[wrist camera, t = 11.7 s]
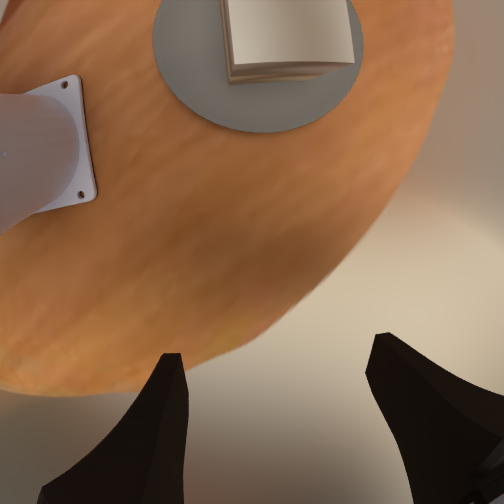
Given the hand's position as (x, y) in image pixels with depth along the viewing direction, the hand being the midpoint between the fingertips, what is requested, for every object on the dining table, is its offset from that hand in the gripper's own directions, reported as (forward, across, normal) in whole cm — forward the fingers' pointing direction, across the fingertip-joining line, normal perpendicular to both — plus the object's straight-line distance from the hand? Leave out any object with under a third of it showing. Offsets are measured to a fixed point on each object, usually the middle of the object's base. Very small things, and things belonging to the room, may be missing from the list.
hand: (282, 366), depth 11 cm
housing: (+8, 0, -13) cm, 15 cm away
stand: (+10, 0, -13) cm, 17 cm away
